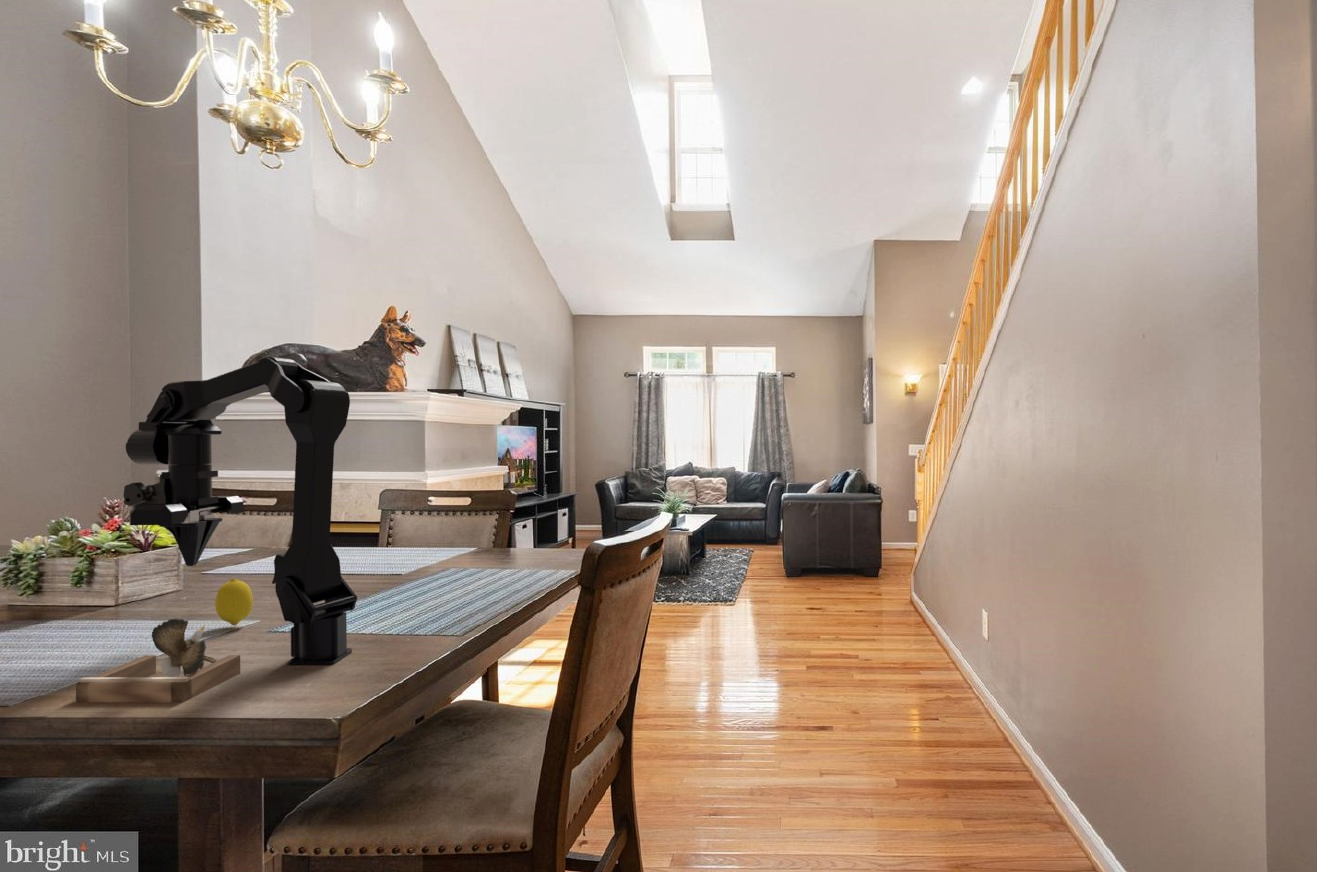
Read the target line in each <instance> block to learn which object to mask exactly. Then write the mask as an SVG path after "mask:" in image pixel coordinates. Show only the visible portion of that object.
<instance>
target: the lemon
mask: <svg viewBox="0 0 1317 872" xmlns="http://www.w3.org/2000/svg"><path fill="white" fill-rule="evenodd" d="M214 601H215V603H214V606H215V612H216V614H217V616H218V617H219V619H221V620H222V621H224V622H227V623H228V624H229V625H231V626H237V625H238V624H239V623H240V622H242V621H243V620H244V619H246V618H247V617H248V616H249V615H250V613H251V611H252V609H253V605H254V599H253V593H252V590H251V588H250V586H249V585H248V584H247V583H246V582H244V581H242V580H239V579H238V578H235V577H233V578H231V579H230V580H229V581H227V582H225V583H224V584H222V585H221V586H220V588H219V589H218V590H217V593H216V596H215V600H214Z"/></svg>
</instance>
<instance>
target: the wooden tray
mask: <svg viewBox="0 0 1317 872" xmlns="http://www.w3.org/2000/svg"><path fill="white" fill-rule="evenodd" d="M155 674H157V655H152V654H151V655H147V654H146V655H143V656H140V657H138V658H136V659H133V660H131V661H128V662H125V663H123V664H121V665H119V666H116V667H113V668H110V669H109V670H106V671H104V672H100V673H99V674H96V675H94V676H89V677H85V676H84V677H81V678H78V682H77V683H75V702H76V703H185V702H187V701H189V700H191V699H193V698H195V697H197V696H199V695H201V694H203V693H205V692H206V691H209V690H210V689H213V688H215V687H217V686H219V685H221V684H223V683H224V682H227V681H229V680H231V679H233V678H235V677H236V676H238V675H240V674H241V655H240V654H229V655H227V656H225V657H223V658H220V659H218V660H217V661H216V662H214V663H210V664H208V665H206V666H203V668H201V669H198V670H197V671H195V672H193V673H191V674H189V675H187V674H186V676H179V677H167V676H159V677H158V676H155V677H154V676H153V675H155Z"/></svg>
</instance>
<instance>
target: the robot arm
mask: <svg viewBox="0 0 1317 872" xmlns="http://www.w3.org/2000/svg"><path fill="white" fill-rule="evenodd" d="M267 392H269V394H270V396H271V397H272V398H273V400H275V401H276V402H277V403H278V404H280V405H281V406H283V408H284V419H285V425H286V426H287V428H288V430H289V431H290V434H291V435H292V437H293V439H294V440H295V447H296V448H295V465H294V467H295V469H294V485H293V486H294V487H293V489H294V491H293V508H292V509H293V511H292V529H291V530H292V532H291V533H292V534H291V535H292V536H291V544H290V545H289V547H288V548H287V551H285V552H284V553H278V554H276V555H275V557H274V560H273V567H274V573H273V574H274V575H273V579H272V581H271V583H272V585H273V584H275V588H274V589H275V595H276V597H277V600H278V603H279V606H280V610H281V613H282V616H283V620H284V621H285V622H289V623H291V624H293V626H292V627H291V628H290V630H289V631H290V633H289V634H290V657H291V658H290V659H288V660H287V665H334V664H336V663H337V662H338V661H341V660H342V659H343V658H345V657H347V656H348V655H349V654H350V653H352V652H353V648H351V647H348V644H347V643H348V637H347V635H348V634H347V633H348V631H347V630H348V629H347V627H348V626H347V621H348V619H347V618H348V617H347V616H348V615H347V612H349V611H351V612H352V611H354V610H355V607H356V604H357V600H358V596H357V594H356V593H355V591H354V590H353V589H352V588H351V587H350V585H349V583H347V581H346V580H345V579H344V578H343V577H342V571H341V562H340V558H339V556H338V554H337V551H335V549H334V547H333V545H332V543H331V523H332V522H331V521H332V500H333V480H334V479H333V478H334V457H335V456H334V455H335V445H336V442H337V440H338V439H339V437H340V436H341V433H342V432H343V431H344V429H345V428H346V426H347V422H348V421H347V420H348V415H349V410H350V404H351V400H350V398H351V397H350V394H349V392H348V391H346V389H345V388H344V386H343V385H341V384H340V383H338V382H334V381H333V382H332V381H330V380H329V379H327V378H325V377H324V376H321V375H320V374H317V373H315V372H313V371H311V370H309V369H307V368H305V367H303V366H302V365H301V364H300V363H299V362H296V361H295V360H293V359H291V358H286V357H276V356H265V357H262V358H261V359H259V360H258V361H256V362H253V363H251V364H247V365H245V366H242V367H239V368H237V369H234V370H230V371H227V372H225V373H223V374H219V375H217V376H214V377H211V378H208V379H204V380H183V381H182V380H181V381H173V382H169V383H167V384H165V385H164V386H163V387H162V389H161V392H159V395H158V397H157V398H156V401H155V402H154V404H153V406H152V408H151V410H150V411H149V413H148V414H147V415H146V420H145V421H139V422H138V429H136V430H135V431H133V432H132V433H131V434H130V435H129V437H128V439H127V442H125V452H126V454H127V456H128V457H129V459H130V460H131V461H133V463H136V464H138V465H168V466H167V471H161V473H160V475H159V482H157V483H154V484H147V485H145V484H144V483H143V482H141V481H140V482H130V483H129V484H127V485H124V487H123V489H124V490H123V505H126V506H128V507H132V509H131V510H130V511H129V513H128V514H129V515H128V517H129V518H128V520H129V524H128V525H129V526H159V528H160V527H161V528H164V529H166V530H167V531H168V532H170V533H171V534H172V536H173V537H174V539H175V542H176V544H177V547H178V549H179V551H180V554H181V557H182V558H183V561H184V563H185V565H186V566H185V567H194V566H197V564H198V563H199V560H200V558H201V557H202V555H203V552H204V551H205V548H206V547H207V545H208V543H209V542H210V539H211V537H212V536H213V533H214V532H215V530H216V529H217V527H218V525H219V524H220V523H221V522H222V521H223V517H215V514H214V513H220V514H222V513H223V514H224V513H226V514H227V513H229V514H230V515H236V514H242V513H244V512H245V511H244V500H242V499H241V497H240V496H239V495H213V478H218V477H219V470H216V469H215V470H213V467H212V466H213V465H212V464H213V463H212V461H213V460H212V459H213V458H212V436H220V435H222V429H220V428H219V427H218V426H216V425H215V424H214V423H213V421H212V420H213V419H215V418H216V417H218V416H220V415H222V414H223V413H225V411H226V410H227V407H229V406H230V405H232V404H234V403H238V402H240V401H243V400H246V399H249V398H252V397H255V396H257V395H260V394H264V393H267ZM320 602H321V603H320Z"/></svg>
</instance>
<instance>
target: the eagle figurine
mask: <svg viewBox="0 0 1317 872" xmlns="http://www.w3.org/2000/svg"><path fill="white" fill-rule="evenodd" d="M188 624H189V620H187V619H186V620H185V619H184V618H170V619H168V620H167V621H162V623H161V624H157V626H155V627H154V628H153V630H152V632H151V638H152V639H151V640H152V642H153V644H154V647H155V648H156V649H157V650H158V651H159V652H161V653H164V654H165V655H166V656H168V657H164V658H162V659H161V660H160V667H161V672H162V674H163V676H164V677H181V676H180V675H181V667H182V671H183V677H185V676H187V675H189V674H191V673H193V672H195V671H197V670H199V669H201V668H203V667H204V665H205V663H204V661H205V662H209V663H210V664H212V663H214V662H216V661H218V660H217V659H216V658H213V657H212V656H207V655H205V652H206V649H207V645H206V641H205V639H204V640H201V639H202V637H203V633H204V629H205V628H206V626H205V625H203V626H202V627H201V628H199V629H197V630H196V631H195V632H194V633H193V635H192V636H191V637H190V638H187V639H185V636H186V635H185V634H186V633H185V632H186V629H187V627H188Z"/></svg>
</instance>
